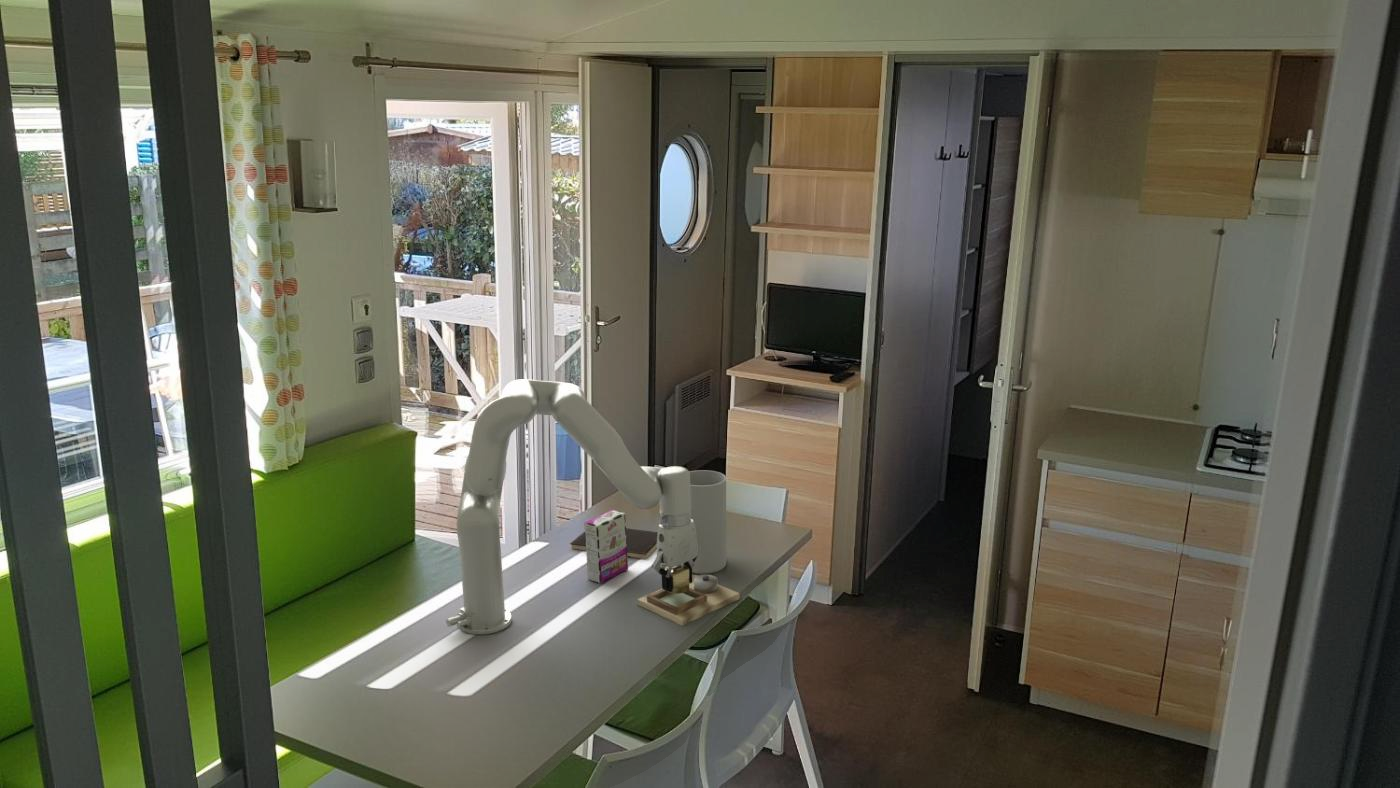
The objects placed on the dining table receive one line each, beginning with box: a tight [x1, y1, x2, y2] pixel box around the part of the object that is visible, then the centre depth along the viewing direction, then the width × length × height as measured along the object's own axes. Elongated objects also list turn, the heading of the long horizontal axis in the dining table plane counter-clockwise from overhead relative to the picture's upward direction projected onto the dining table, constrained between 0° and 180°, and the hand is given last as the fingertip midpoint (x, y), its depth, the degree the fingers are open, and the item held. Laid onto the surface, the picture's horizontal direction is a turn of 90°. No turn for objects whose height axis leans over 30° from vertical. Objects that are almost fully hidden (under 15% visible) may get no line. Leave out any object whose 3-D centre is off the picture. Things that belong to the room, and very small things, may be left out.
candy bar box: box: [584, 509, 629, 584], centre depth 272 cm, size 11×5×16 cm, turn 143°
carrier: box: [637, 574, 740, 626], centre depth 257 cm, size 20×16×5 cm
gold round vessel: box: [665, 564, 690, 594], centre depth 253 cm, size 6×6×6 cm
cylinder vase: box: [680, 469, 728, 575], centre depth 276 cm, size 12×12×25 cm
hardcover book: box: [569, 527, 658, 560], centre depth 294 cm, size 16×23×2 cm
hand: (677, 585), depth 254 cm, fingers closed on gold round vessel, 6 cm apart
